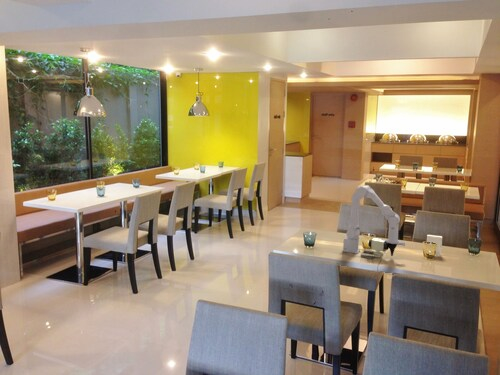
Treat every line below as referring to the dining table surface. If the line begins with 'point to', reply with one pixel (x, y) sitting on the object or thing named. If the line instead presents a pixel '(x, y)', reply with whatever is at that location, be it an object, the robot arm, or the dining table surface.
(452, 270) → the dining table surface
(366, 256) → the guide rails
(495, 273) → the dining table surface
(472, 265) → the dining table surface
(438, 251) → the base with upright slab
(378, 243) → the pneumatic valve
